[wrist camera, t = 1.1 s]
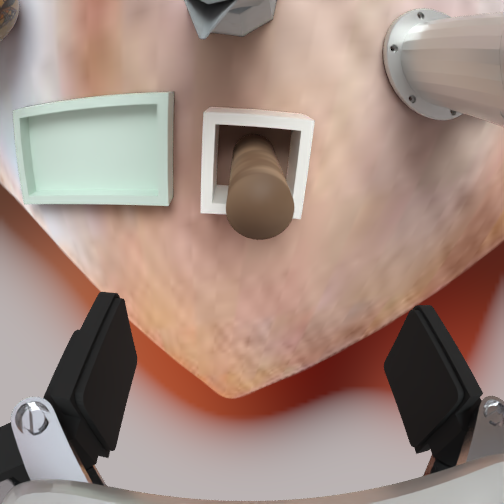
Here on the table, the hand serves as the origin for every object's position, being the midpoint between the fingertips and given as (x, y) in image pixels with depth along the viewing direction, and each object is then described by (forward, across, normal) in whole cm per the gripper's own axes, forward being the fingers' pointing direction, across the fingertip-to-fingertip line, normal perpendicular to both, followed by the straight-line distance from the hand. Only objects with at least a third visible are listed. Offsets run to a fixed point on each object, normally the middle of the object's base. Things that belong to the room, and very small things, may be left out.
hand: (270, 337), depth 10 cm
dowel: (+24, 0, 0) cm, 24 cm away
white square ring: (+24, 0, 0) cm, 24 cm away
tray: (+24, +17, 0) cm, 29 cm away
